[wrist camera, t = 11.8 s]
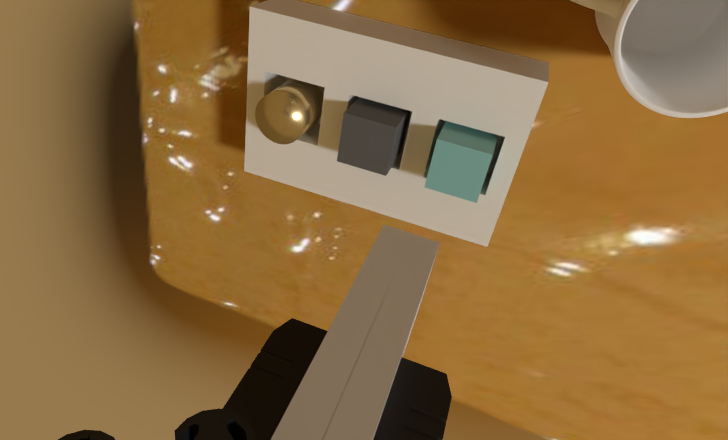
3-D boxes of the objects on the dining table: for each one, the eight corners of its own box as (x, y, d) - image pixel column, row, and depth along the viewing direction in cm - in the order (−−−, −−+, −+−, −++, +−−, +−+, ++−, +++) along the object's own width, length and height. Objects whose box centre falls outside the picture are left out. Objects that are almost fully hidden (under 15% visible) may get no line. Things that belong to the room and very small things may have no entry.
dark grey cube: (362, 93, 41) (343, 112, 38) (410, 106, 41) (396, 127, 37) (355, 139, 44) (336, 161, 40) (400, 152, 43) (386, 175, 39)
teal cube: (448, 117, 40) (437, 139, 37) (499, 130, 40) (493, 154, 36) (435, 162, 42) (424, 187, 39) (483, 176, 42) (476, 203, 38)
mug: (528, 18, 38) (518, 61, 28) (592, -115, 33) (607, -120, 23) (685, 82, 37) (730, 149, 27) (775, -46, 32) (871, -21, 22)
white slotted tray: (279, -4, 42) (249, 6, 38) (549, 62, 39) (548, 82, 35) (269, 148, 50) (244, 170, 46) (493, 216, 47) (487, 246, 43)
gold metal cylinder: (281, 71, 42) (256, 88, 39) (327, 84, 42) (305, 102, 38) (278, 116, 45) (253, 136, 41) (321, 129, 44) (300, 150, 40)
